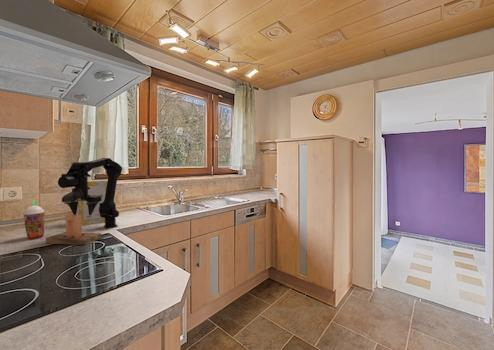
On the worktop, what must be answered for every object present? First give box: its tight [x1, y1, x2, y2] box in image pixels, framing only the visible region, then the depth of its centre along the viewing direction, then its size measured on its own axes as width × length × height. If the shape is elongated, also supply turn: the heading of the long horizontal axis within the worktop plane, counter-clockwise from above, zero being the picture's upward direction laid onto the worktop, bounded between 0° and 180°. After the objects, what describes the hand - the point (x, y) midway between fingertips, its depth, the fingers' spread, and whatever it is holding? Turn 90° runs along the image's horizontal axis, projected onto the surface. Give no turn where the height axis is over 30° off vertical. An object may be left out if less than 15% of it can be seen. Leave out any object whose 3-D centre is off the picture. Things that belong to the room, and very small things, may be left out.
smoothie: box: [23, 199, 46, 240], centre depth 119 cm, size 8×8×20 cm
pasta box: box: [77, 179, 108, 227], centre depth 150 cm, size 18×10×28 cm, turn 125°
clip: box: [64, 214, 83, 238], centre depth 115 cm, size 3×6×13 cm, turn 82°
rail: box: [45, 231, 102, 246], centre depth 115 cm, size 10×22×2 cm, turn 82°
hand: (82, 215), depth 119 cm, fingers open, 9 cm apart
